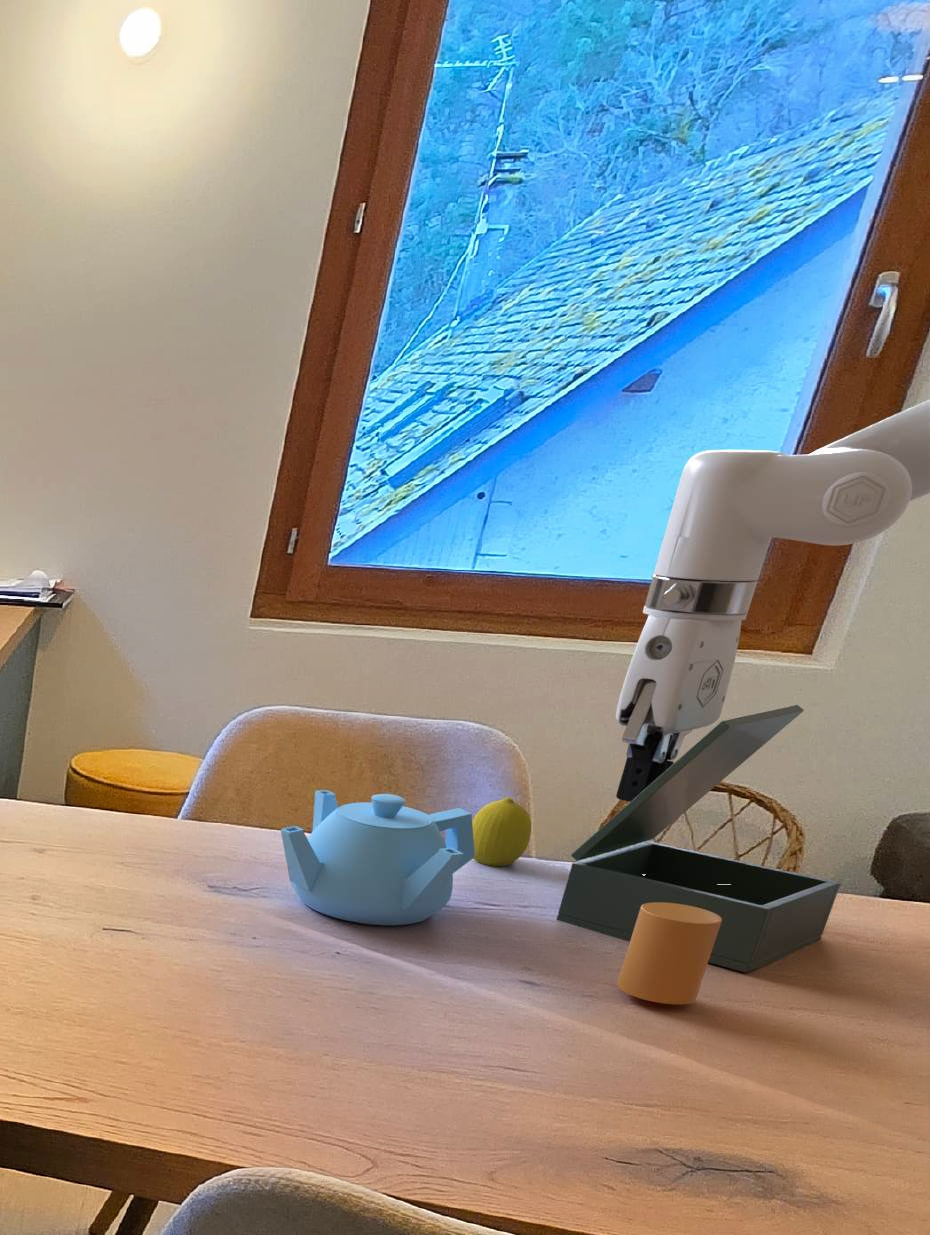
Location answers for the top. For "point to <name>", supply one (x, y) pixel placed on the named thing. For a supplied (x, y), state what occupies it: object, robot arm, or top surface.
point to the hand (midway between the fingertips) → (638, 800)
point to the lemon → (501, 832)
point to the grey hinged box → (702, 899)
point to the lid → (688, 780)
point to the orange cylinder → (668, 952)
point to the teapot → (377, 859)
